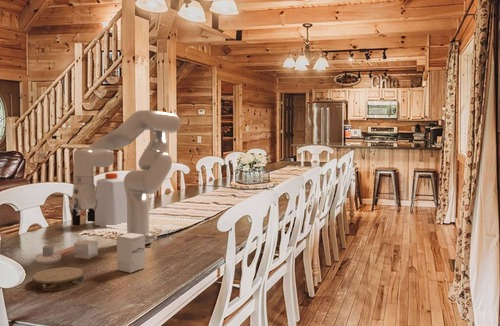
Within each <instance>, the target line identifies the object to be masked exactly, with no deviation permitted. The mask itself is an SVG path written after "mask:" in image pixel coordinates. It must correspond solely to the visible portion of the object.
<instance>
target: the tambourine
mask: <svg viewBox="0 0 500 326" xmlns="http://www.w3.org/2000/svg"><path fill="white" fill-rule="evenodd" d="M83 282H84V270H83V269H81V268H78V267H71V266H69V267H67V266H66V267H64V266H63V267H62V266H61V267H53V268H48V269H45V270H40V271H37V272H36V273H34V274H33V276H32V285H33V287H34V288H35V289H39V290H41V291H61V290H66V289H71V288H75V287H78V286H79V285H81V284H82V283H83Z"/></svg>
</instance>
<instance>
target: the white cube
mask: <svg viewBox="0 0 500 326" xmlns="http://www.w3.org/2000/svg"><path fill="white" fill-rule="evenodd" d="M73 246H74V252H73V254H74V259H85V260H90V259H92V258H94V257H96V256H98V255H99V249H98V248H99V245H98V240H90V239H83V240H81V241H77V242H75V243H74V244H73Z"/></svg>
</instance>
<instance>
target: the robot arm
mask: <svg viewBox="0 0 500 326" xmlns="http://www.w3.org/2000/svg"><path fill="white" fill-rule="evenodd" d="M181 121H182V120H181V118H180V117H179V116H178V115H177V114H175V113H172V112H165V111H158V110H155V109H154V110H152V109H149V110H148V109H147V110H141V109H140V110H137V111H135V112H133V113H132V114H131V115H130V116H129V117H128V118H127V119H126V120H125V121H123V122H122V123H121V124H120V125H119V126H118V127H116V128H115V129H114V130H112V131H110V132H108V133H107V134H105V135H103V136H101V137H100V138H98V139H97V140H95V141H94V142H93V143H92V144H90V145H89V147H87V149H86V148H85V149H84V148H83V149H80V148H79V149H75V150H74V152H73V187H72V197H71V200H72V201H71V202H70V203H69V205H68V209H69V211H70V215H71V216H72V218H71V219H72V225H73V226H81V215H80V214H81V212H82V211H85V210H87V211H86V212H87V222H91V223H93V222H94V223H95V211H96V207H97V202H98V200H97V199H96V185H95V178H94V177H95V175H94V174H95V173H94V172H95V168H96V167H98V168H108V167H110V166H112V165H113V163H114V162H115V158H116V157H115V154H114V153H113V152H112V151H115V150H116V149H120V148H123V147H127V146H129V145H130V144H132V143H133V142H134V141H135V140H136V139H137V138H138V137H140V135H142V134H143V133H144V131H150V141H149V143H148V145H147V146H146V147H145V150H144V151H143V153H141V156H140V157H139V160H138V167H139V169H140V170H131V171H129V172H127V174H125V177H124V178H123V179H124V187H125V192H126V200H127V225H126V226H127V227H126V232H127V233H126V234H129V233H136V234H143V235H145V245H147V244H150V243H153V242H154V241H156V240H157V239H158V235H157V234H153V233H152V231H151V230H150V208H149V207H150V202H149V201H150V200H149V197H148V195H152V194H156V192H158V191H159V189H160V188H161V186H162V185H163V183H164V182H165V181H166V180H165V179H166V178H167V176H168V175H169V173H170V171H171V168H172V163H173V161H172V157H171V155H170V154H169V153H168V152H167V150H168V148H169V139H168V135H167V134H170V133H171V134H172V133H177V132H178V131H179V129H181V126H182V122H181Z"/></svg>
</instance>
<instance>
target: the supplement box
mask: <svg viewBox="0 0 500 326" xmlns="http://www.w3.org/2000/svg"><path fill="white" fill-rule="evenodd" d="M145 268H146V244H145V235H143V234H136V233H129V234H127V233H125V234H120V235H117V236H116V269H117V271H121V272H126V273H130V274H131V273H133V272H136V271H138V270H139V271H140V270H143V269H145Z"/></svg>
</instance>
